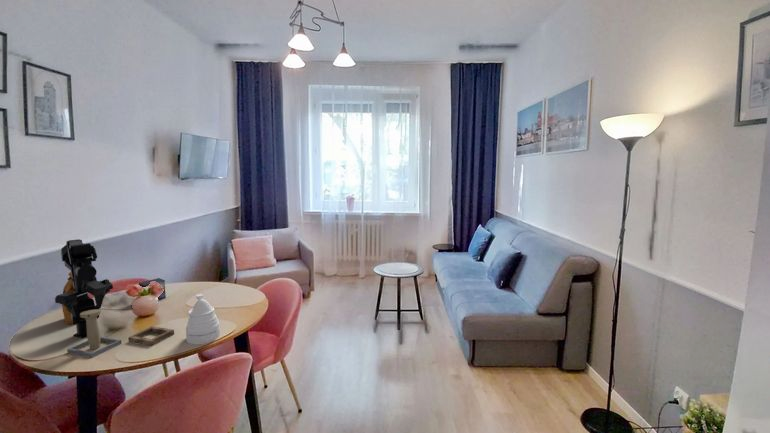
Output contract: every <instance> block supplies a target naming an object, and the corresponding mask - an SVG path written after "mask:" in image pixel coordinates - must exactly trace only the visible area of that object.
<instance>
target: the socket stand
mask: <svg viewBox="0 0 770 433" xmlns="http://www.w3.org/2000/svg"><path fill="white" fill-rule="evenodd" d="M153 333H154V334H159V335H157V336H155V337H153V338H146V336H147V335H150V334H153ZM173 335H175V329H172V328H164V327H159V326H153V325H152V326H150V327H147V328H144V329H143V330H141V331H139V332H136V333H135V334H133V335H130V336H128V343H133V344H138V345H145V346H150V347H154V346H155V345H156V344H158V343H161V341H165V340H166V339H168V338H169V337H171V336H173Z"/></svg>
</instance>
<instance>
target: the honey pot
mask: <svg viewBox="0 0 770 433" xmlns="http://www.w3.org/2000/svg"><path fill="white" fill-rule="evenodd" d="M203 296H204V294H202V293H200V294H199V293H198V294H196V295H195V297H196V299H197V301H196V302H195V304H194V306H193V307H192V308H191V309H190V310H188V312H187V315H188V316H189V318H188V320H187V325H186V327H185V334H186V335H185V336H186V339H185V340H186V342H187V343H189V344H191V345H203V344H207V343H211V342H213V341H215V340H218V338H219V337H220V336H221V326H220V321H219V319H218V317H217V314H216V312H215V307H214V306H211V304H210V302H208V301H207V300H206V299H204V298H203Z"/></svg>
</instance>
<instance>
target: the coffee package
mask: <svg viewBox="0 0 770 433" xmlns="http://www.w3.org/2000/svg"><path fill="white" fill-rule="evenodd" d="M68 276H69V277H68V278H67V280H68V281H67V282H66V283H65V285H64V286H63V290H62V294H63V293H75V292H74V291H73V289H74V287H73V281H72V276H71V271H70V272H69V273H68ZM61 308H62V313H63V314H62V315H63V317H64V322H65V324H67V325H71V324H72V325H73V323H72V320H71V312H70V311H69V310H68V309H67V308H66V307H65V306H64V305H63V304H61Z"/></svg>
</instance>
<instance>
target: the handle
mask: <svg viewBox="0 0 770 433" xmlns="http://www.w3.org/2000/svg"><path fill="white" fill-rule="evenodd" d="M101 313H102V310H101V308H100V309H95V310H88V311H84V312H82V313H80V317H81V318H85V319H86V325H87V337H86V338H87V340H88V343H89V349H90V350H97V349H100V347H101V341H100V336H101V332H100V326H99V322H98V319H97V316H98V315H99V316H100V315H101Z"/></svg>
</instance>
